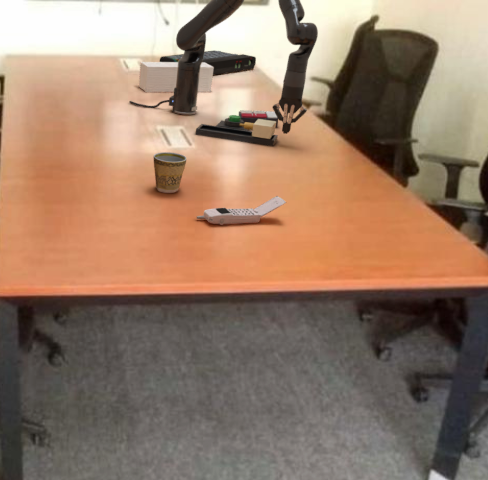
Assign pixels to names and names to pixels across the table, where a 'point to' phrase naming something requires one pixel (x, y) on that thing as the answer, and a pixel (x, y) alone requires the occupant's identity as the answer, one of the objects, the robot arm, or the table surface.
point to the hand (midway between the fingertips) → (285, 133)
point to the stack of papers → (170, 76)
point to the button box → (231, 124)
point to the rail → (233, 135)
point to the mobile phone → (241, 213)
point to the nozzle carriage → (261, 128)
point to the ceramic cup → (168, 171)
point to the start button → (234, 118)
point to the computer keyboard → (221, 61)
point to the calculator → (257, 116)
